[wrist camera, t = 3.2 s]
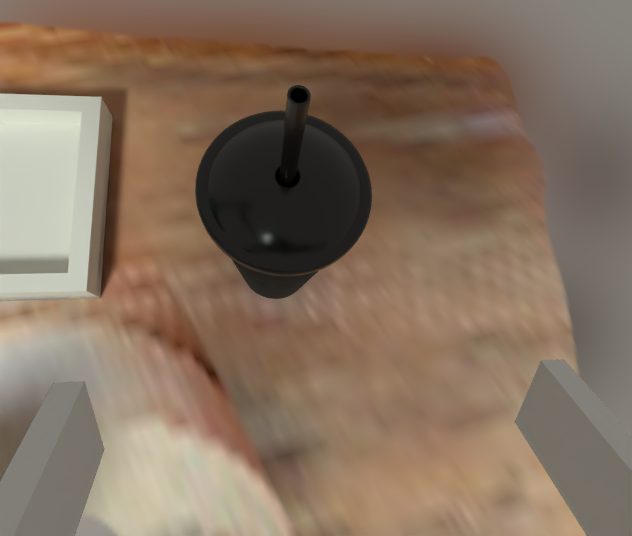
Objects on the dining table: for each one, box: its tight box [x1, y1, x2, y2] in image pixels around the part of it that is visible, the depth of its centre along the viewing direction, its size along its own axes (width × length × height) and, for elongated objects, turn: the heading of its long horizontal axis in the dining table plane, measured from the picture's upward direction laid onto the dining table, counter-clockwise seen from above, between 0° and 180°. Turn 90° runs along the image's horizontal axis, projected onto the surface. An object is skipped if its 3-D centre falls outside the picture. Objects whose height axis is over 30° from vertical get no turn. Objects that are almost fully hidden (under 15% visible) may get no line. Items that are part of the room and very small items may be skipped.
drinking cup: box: [195, 85, 372, 299], centre depth 22 cm, size 8×8×20 cm
